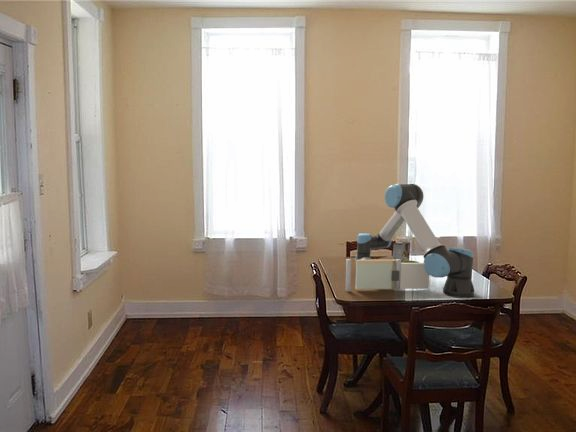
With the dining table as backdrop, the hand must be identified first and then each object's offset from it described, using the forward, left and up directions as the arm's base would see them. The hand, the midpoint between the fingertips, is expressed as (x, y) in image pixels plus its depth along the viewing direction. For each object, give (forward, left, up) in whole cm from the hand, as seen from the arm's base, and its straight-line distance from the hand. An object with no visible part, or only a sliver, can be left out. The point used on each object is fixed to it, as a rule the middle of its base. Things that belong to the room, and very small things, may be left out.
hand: (379, 275), depth 290 cm
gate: (-1, +2, -7) cm, 7 cm away
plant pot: (+26, -25, -8) cm, 37 cm away
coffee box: (+46, -26, -8) cm, 53 cm away
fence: (-2, -4, -8) cm, 9 cm away
